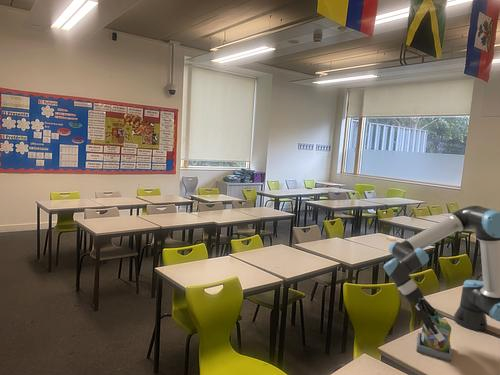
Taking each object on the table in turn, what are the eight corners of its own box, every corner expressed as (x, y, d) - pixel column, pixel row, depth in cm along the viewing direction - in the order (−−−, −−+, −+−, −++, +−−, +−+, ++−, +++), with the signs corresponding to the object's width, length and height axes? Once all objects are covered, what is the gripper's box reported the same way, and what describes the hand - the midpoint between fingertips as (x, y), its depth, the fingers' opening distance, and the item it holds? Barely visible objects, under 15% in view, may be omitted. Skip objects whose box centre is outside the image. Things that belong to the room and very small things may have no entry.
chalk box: (447, 353, 158) (453, 320, 157) (425, 348, 160) (430, 316, 158) (441, 342, 167) (446, 311, 166) (420, 338, 169) (425, 307, 167)
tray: (448, 347, 167) (449, 341, 167) (450, 361, 155) (451, 355, 155) (417, 338, 173) (418, 332, 172) (416, 351, 161) (417, 345, 160)
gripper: (406, 286, 179) (437, 327, 173) (399, 303, 159) (433, 349, 153) (420, 279, 176) (451, 320, 170) (414, 295, 156) (449, 342, 150)
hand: (443, 334), depth 162 cm, fingers closed on chalk box, 11 cm apart
